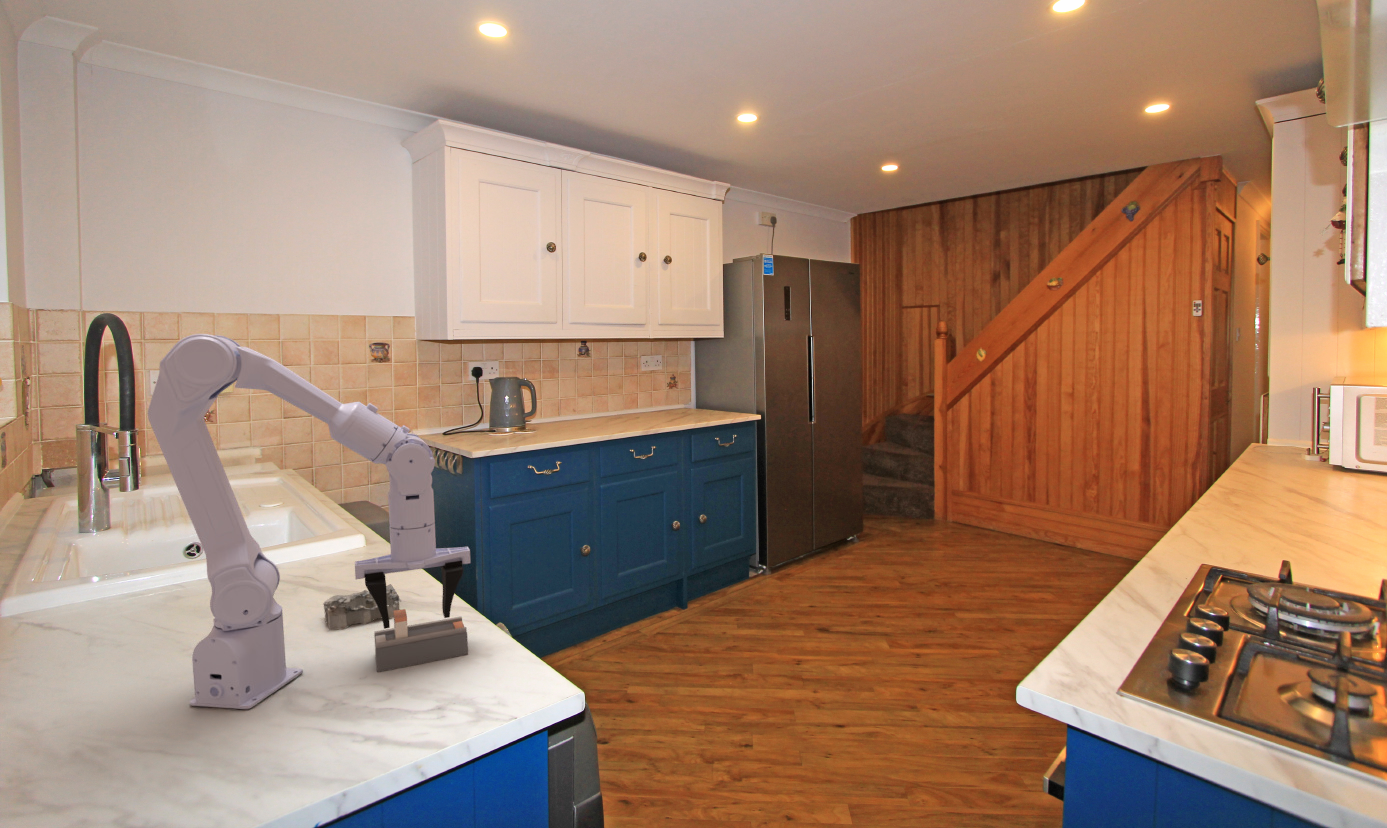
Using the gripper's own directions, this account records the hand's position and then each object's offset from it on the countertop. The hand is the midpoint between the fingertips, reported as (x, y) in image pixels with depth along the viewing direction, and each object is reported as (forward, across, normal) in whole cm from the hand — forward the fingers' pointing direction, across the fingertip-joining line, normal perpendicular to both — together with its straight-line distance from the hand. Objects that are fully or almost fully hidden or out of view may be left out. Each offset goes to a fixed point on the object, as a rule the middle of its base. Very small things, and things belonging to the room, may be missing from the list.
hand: (416, 620), depth 94 cm
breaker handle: (+2, -2, 0) cm, 3 cm away
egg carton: (+5, -7, +19) cm, 21 cm away
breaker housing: (+5, 0, 0) cm, 5 cm away
